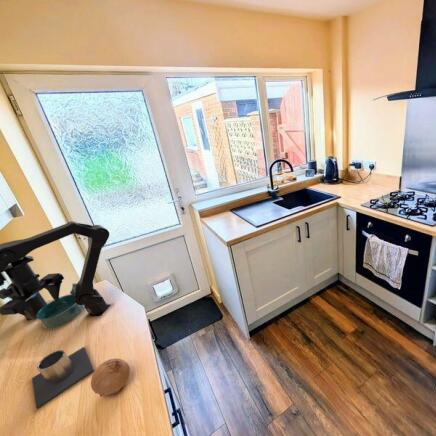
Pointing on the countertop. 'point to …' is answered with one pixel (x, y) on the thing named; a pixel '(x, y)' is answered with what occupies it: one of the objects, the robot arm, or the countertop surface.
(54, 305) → the teal bowl
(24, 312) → the robot arm
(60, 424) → the countertop surface
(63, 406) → the countertop surface
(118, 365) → the brown coconut
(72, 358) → the trivet
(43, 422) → the countertop surface
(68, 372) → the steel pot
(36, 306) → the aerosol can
